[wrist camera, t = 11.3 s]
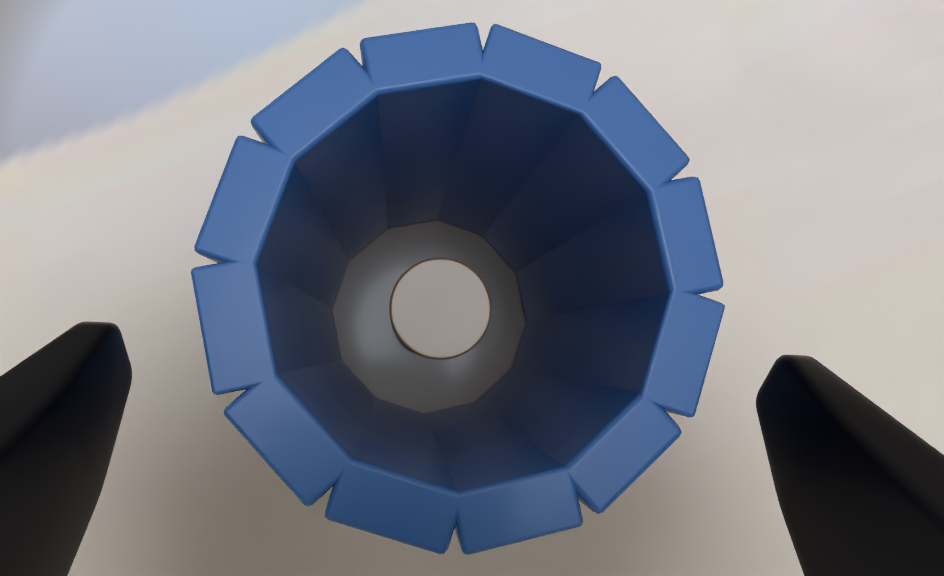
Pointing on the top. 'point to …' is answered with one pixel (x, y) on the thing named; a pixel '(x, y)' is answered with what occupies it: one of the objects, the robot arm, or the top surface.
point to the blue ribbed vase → (511, 234)
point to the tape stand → (429, 316)
